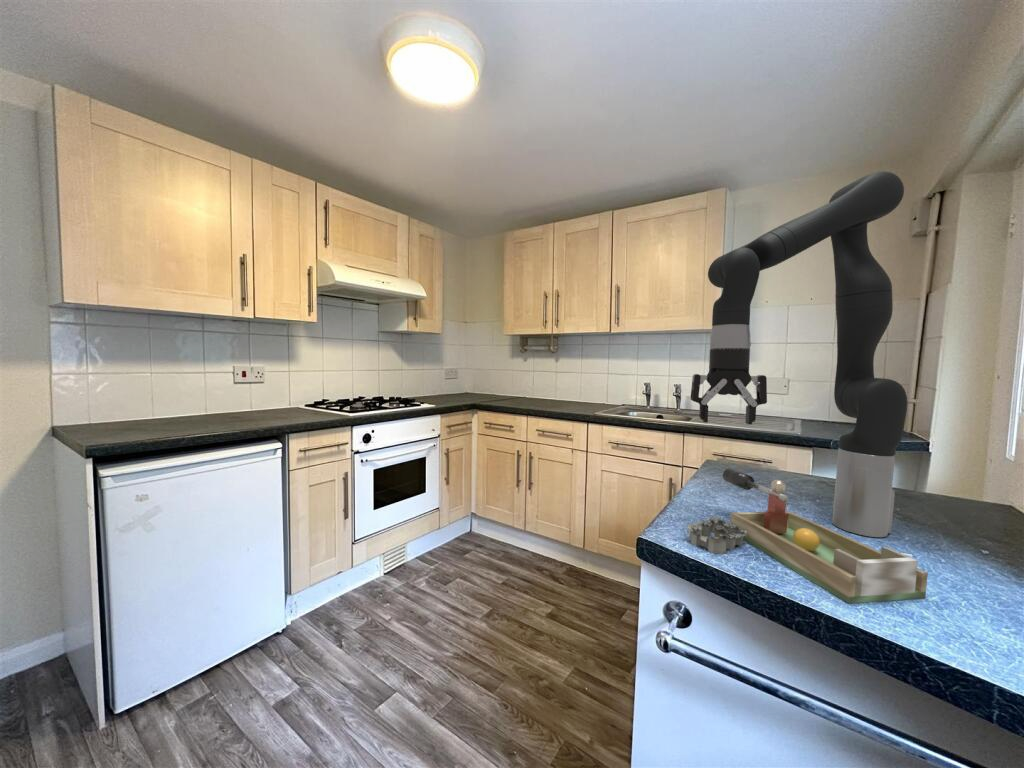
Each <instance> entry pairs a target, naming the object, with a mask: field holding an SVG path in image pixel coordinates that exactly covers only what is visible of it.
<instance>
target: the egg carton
mask: <svg viewBox="0 0 1024 768" xmlns="http://www.w3.org/2000/svg"><path fill="white" fill-rule="evenodd" d="M686 531H687V532H689V536H688V541H690V543H691V545H693V546H695V547H698V546H699V547H703V548H706V549H707V551H708V553H712V554H720V555H724V554H726V552H727V550H730V551H733V550H734V549H735V547H736V546H739V547H743V546H744V540H743V538H744V535H745V536H746V533H747V531H746V530H744V531H742V530H740V529H739V527H738V525H736V526H735V525H733V524H732V523H730V521H727V520H726V519H725V520H723V519H721V518H720V517H718V516H717V515H713V516H712V517H710V518H708V519H707V518H706V519H701V520H700V521H697V522H695V523H688V524H687V528H686ZM712 534H714V536H712Z"/></svg>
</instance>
